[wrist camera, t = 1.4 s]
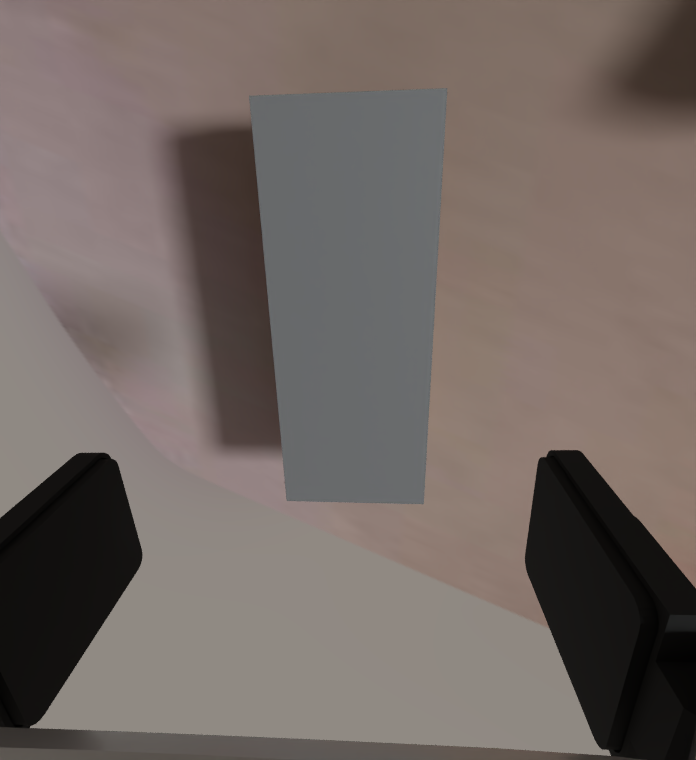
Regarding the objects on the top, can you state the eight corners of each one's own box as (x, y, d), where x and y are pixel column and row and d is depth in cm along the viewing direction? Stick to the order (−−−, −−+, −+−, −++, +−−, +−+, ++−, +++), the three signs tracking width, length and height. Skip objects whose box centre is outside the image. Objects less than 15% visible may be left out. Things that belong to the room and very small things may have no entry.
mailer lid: (267, 109, 20) (249, 95, 17) (437, 103, 19) (447, 88, 16) (295, 469, 27) (286, 500, 24) (419, 471, 27) (423, 504, 24)
